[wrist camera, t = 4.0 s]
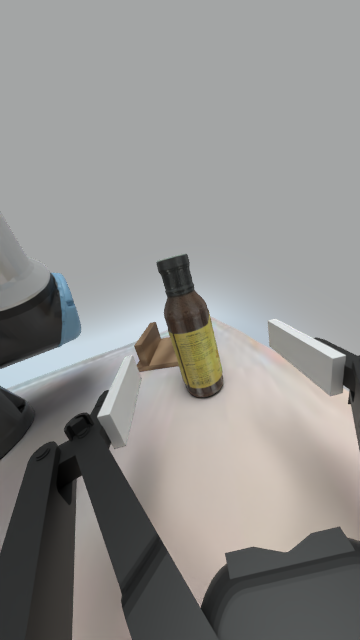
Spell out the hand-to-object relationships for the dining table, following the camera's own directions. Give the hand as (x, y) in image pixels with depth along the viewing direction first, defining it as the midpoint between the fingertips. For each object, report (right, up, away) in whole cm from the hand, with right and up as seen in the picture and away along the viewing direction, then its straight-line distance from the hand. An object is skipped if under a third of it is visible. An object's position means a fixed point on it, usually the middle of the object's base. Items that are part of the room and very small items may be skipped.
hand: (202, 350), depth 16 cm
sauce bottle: (+2, -8, +11) cm, 14 cm away
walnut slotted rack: (-4, -5, +24) cm, 24 cm away
